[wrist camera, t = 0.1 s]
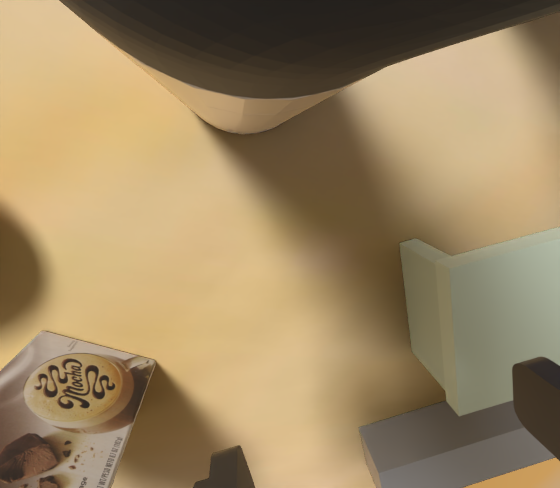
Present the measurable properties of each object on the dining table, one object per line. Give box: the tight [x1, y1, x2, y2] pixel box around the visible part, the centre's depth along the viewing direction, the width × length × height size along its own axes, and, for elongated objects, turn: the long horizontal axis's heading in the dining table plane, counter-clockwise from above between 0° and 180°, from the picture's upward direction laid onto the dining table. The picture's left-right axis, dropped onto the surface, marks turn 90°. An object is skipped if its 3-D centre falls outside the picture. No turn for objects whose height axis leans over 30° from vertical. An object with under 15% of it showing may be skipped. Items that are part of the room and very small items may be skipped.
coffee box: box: [0, 331, 156, 488], centre depth 19 cm, size 9×6×16 cm
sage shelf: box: [399, 227, 560, 416], centre depth 26 cm, size 12×22×7 cm, turn 103°
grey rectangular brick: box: [359, 400, 555, 488], centre depth 31 cm, size 5×18×5 cm, turn 104°
